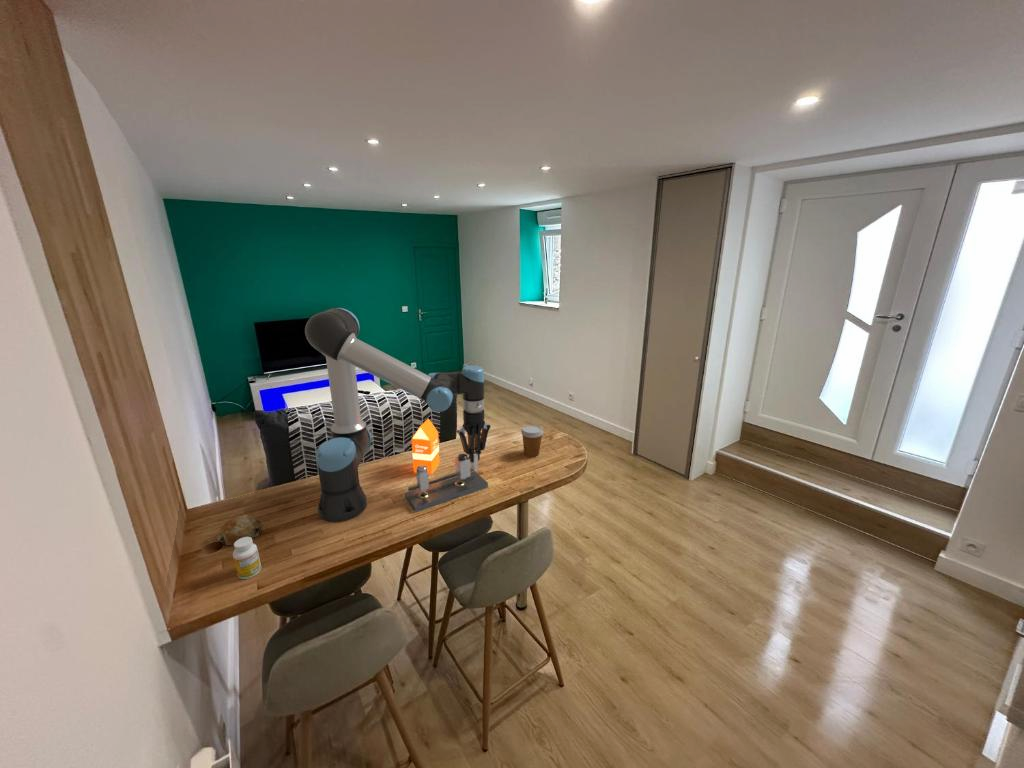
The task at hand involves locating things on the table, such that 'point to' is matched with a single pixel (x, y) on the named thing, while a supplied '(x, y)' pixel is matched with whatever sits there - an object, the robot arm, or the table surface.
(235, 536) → the bread roll
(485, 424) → the robot arm
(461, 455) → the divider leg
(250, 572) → the supplement bottle
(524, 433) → the disposable coffee cup
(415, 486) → the plate
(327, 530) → the table surface
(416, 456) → the orange juice
